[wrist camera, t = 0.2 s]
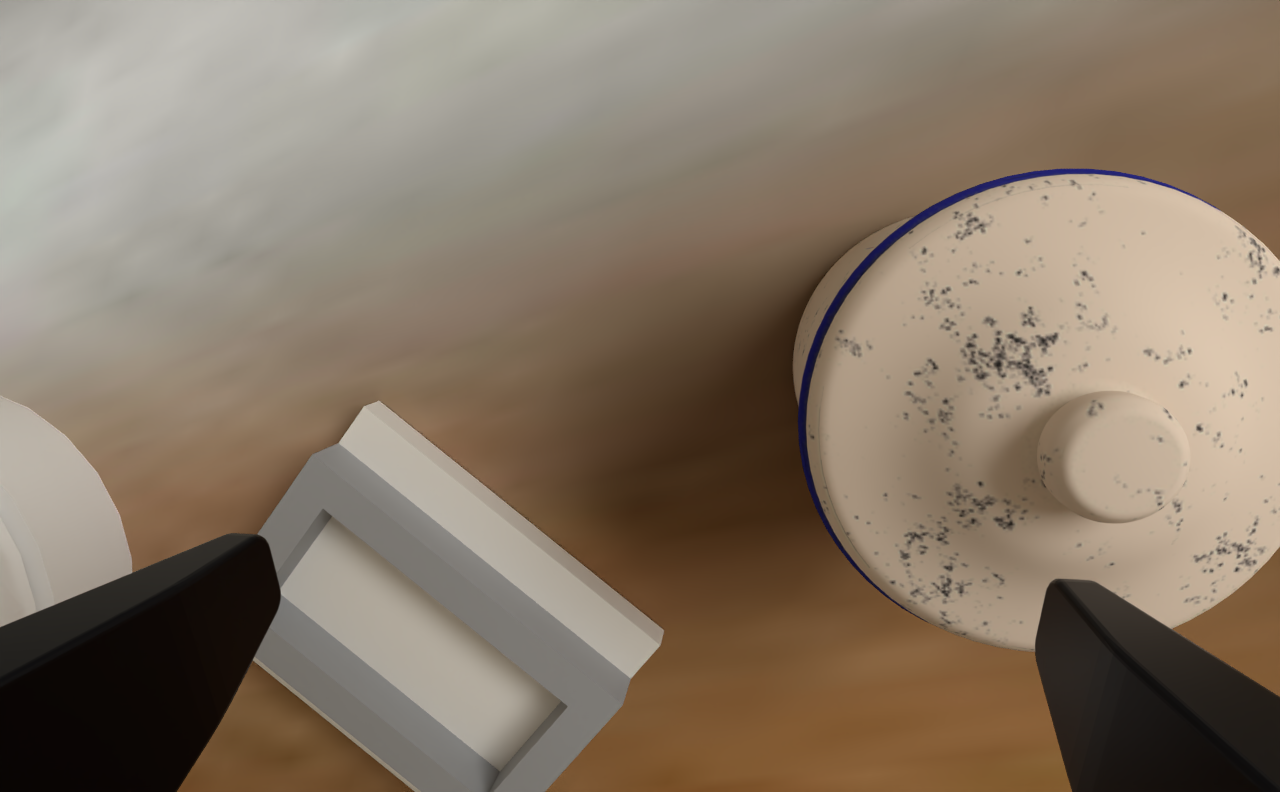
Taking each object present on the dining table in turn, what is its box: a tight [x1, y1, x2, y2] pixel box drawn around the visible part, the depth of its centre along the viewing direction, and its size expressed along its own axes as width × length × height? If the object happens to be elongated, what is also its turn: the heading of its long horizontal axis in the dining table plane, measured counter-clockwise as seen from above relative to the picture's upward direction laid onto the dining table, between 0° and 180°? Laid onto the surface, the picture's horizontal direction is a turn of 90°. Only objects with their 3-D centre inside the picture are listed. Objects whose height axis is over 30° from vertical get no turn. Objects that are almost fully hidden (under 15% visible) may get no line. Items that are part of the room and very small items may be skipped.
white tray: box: [253, 401, 664, 792], centre depth 25 cm, size 10×12×2 cm
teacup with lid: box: [793, 169, 1280, 652], centre depth 17 cm, size 12×9×12 cm
